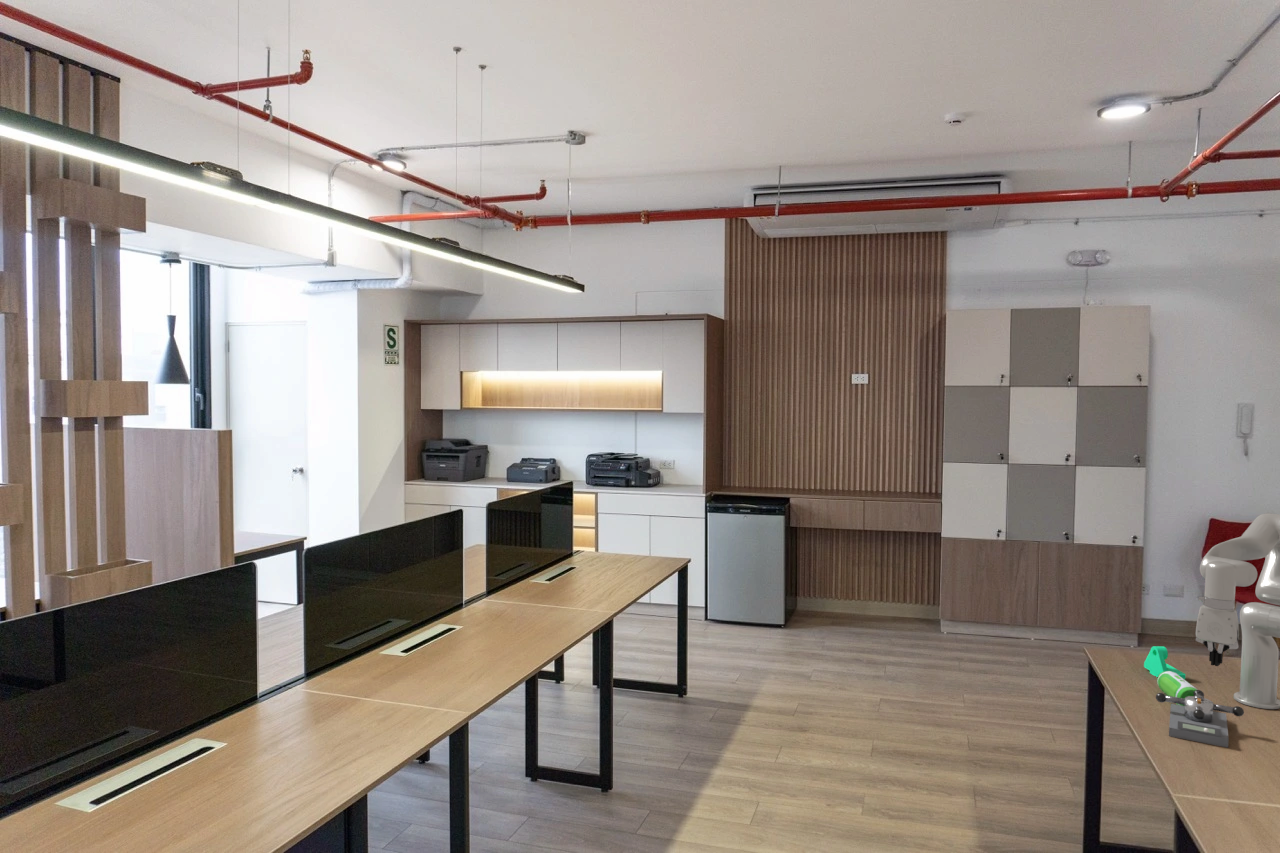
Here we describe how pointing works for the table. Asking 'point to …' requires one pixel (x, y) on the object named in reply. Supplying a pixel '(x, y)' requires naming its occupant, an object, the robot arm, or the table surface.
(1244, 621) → the robot arm
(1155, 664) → the camera mount
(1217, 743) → the stand
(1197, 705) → the capstan
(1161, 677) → the speaker
